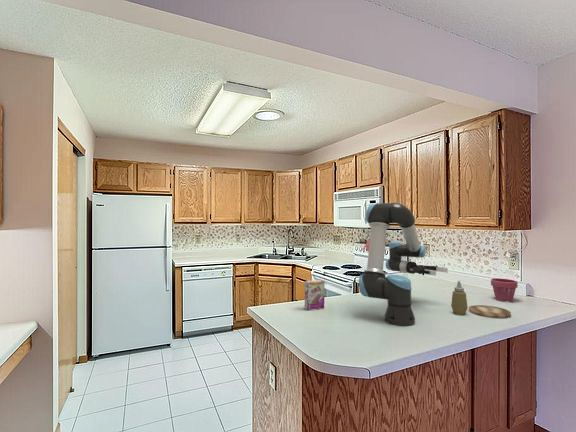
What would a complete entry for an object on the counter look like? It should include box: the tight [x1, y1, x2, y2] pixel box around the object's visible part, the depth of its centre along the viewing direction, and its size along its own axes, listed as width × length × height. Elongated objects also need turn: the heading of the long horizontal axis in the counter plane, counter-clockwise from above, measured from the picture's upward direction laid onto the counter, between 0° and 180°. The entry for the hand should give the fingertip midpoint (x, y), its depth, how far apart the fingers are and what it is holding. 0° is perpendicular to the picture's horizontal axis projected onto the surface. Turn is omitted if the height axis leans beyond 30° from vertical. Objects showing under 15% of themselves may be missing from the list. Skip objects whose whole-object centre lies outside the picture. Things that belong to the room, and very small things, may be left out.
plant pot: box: [490, 277, 519, 302], centre depth 204 cm, size 14×14×13 cm
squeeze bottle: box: [450, 280, 469, 316], centre depth 177 cm, size 8×8×18 cm
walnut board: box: [468, 304, 512, 319], centre depth 178 cm, size 20×20×2 cm
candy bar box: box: [304, 279, 325, 311], centre depth 188 cm, size 11×5×16 cm, turn 110°
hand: (441, 271), depth 185 cm, fingers open, 13 cm apart
